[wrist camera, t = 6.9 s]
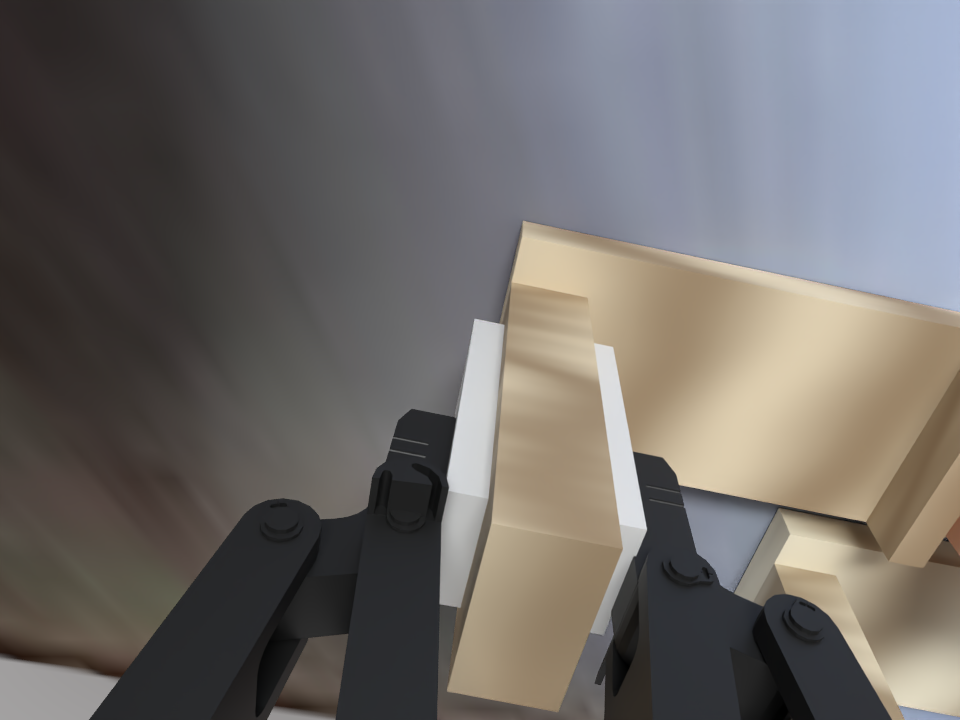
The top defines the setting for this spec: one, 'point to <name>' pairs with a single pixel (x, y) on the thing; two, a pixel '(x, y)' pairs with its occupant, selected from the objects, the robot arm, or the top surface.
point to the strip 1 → (689, 429)
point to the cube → (955, 535)
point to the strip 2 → (870, 604)
